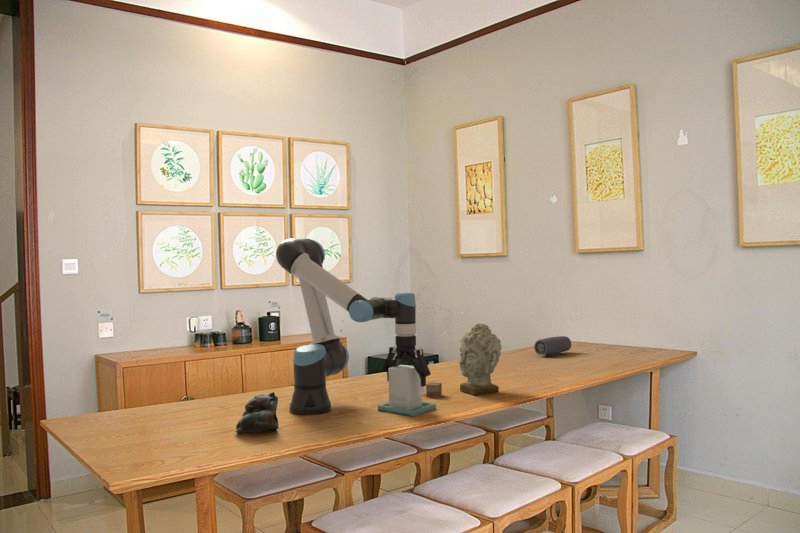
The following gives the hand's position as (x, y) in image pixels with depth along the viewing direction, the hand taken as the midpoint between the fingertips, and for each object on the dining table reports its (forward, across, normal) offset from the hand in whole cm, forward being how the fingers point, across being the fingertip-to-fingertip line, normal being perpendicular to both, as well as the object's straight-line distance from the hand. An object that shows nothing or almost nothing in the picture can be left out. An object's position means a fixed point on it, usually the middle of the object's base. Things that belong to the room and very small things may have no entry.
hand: (406, 393), depth 237 cm
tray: (+6, 0, 0) cm, 6 cm away
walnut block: (+6, +5, -24) cm, 26 cm away
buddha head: (+6, -6, -42) cm, 42 cm away
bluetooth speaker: (+6, +10, -146) cm, 147 cm away
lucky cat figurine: (+7, +22, +51) cm, 56 cm away
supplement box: (+6, 0, 0) cm, 6 cm away
